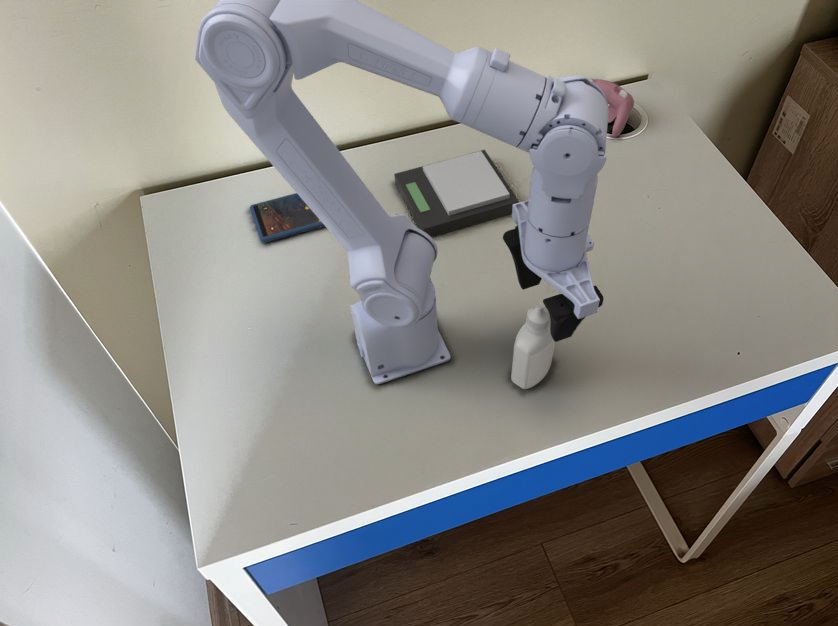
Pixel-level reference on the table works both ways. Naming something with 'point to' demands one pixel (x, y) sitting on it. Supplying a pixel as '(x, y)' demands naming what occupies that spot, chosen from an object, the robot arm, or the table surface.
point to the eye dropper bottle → (533, 349)
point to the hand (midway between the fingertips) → (545, 310)
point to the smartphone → (283, 217)
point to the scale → (455, 193)
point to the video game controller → (616, 104)
